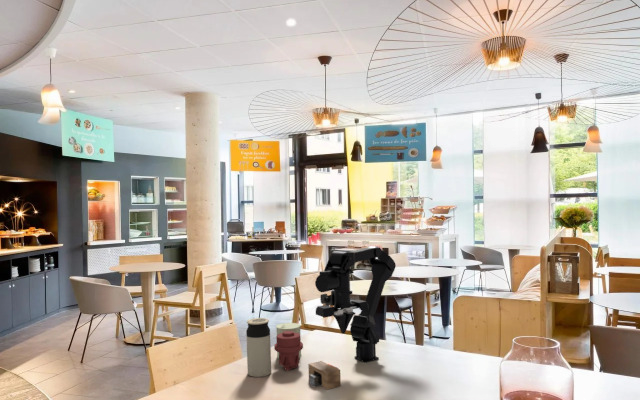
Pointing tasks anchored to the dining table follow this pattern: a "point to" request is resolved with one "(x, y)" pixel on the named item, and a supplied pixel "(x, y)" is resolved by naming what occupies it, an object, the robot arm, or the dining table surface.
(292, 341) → the mechanical component
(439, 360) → the dining table surface
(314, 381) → the pin
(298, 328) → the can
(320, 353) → the dining table surface
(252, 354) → the travel mug
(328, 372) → the block
